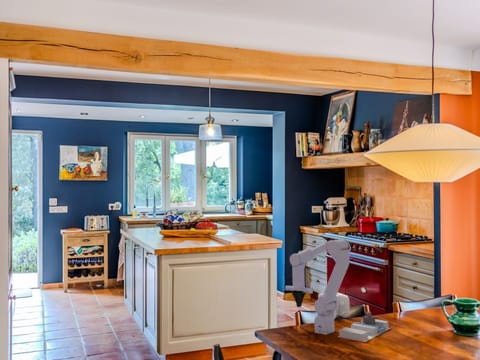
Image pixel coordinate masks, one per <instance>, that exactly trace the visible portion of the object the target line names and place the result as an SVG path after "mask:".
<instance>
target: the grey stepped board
mask: <svg viewBox="0 0 480 360" xmlns="http://www.w3.org/2000/svg"><path fill="white" fill-rule="evenodd" d="M353 322H354V321H353ZM390 329H391V327H389V321H388V320H383V319H376V318H375V325H371V324H365V323H363V318H361V320H360V321H359V322H358V321H355V322H354V323H352V324H351V325H350V327H345V326H344V327H343V328H341V329H339V330H338V333H339V335H338V336H337V337H338V338H343V339H348V340H353V341H358V342H363V343H366V342H368V341H369V340H371V339H374V338H376V337H377V336H379V335H380V334H383V333H384V332H386V331H388V330H390Z"/></svg>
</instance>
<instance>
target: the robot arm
mask: <svg viewBox="0 0 480 360" xmlns="http://www.w3.org/2000/svg"><path fill="white" fill-rule="evenodd" d="M351 249H352V247H351V245H350V242H349V241H348V240H347V239H346V238H341V239H335V240H333V239H331V240H329V241H325V242H323V243H322V244H319V245H318V246H316V247H314V248H312V247H310V246H309V247H305V248H304V250H299V251H298V253H293V254H291V255H290V256H289V263H290V265H291V267H292V269H291V271H292V285H285V286H284V287H285V289H284V290H285V291H292V292H291V295H292V296H293V300H294V301H295V304H296V308H302V305H303V301H304V298H305V296H306V295H307V293H308V294H313V293H314V292H313V288H310V287H305V284H306V282H305V281H306V280H305V267H306V264H307V263H308V262H310V261H313V260H316V257H317V255H320V254H322V253H323V254H324V253H328V254H329V255H330V256H331V258H332V259H333V261H334V262H335V265H334V266H333V269H332V272H331V275H330V277H329V280H328V282H327V284H326V287H325V288H324V292H322V293H323V294H322V295H321V296H320V297H319V299H317V300H315V302H314V305H313V307H314V310H315V312H316V313H317V315H316V316H315V318H314V322H313V324H314V333H315V334H322V335H329V334H332V333H334V332H335V319H334V313H335V309H336V308H337V301H338V298H337V297H336V295H337V293H339V290H340V287H341V285H342V282H343V280H344V277H345V275H346V273H347V271H348V268H349V265H350V253H351Z"/></svg>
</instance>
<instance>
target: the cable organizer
mask: <svg viewBox="0 0 480 360" xmlns="http://www.w3.org/2000/svg"><path fill="white" fill-rule="evenodd" d="M323 293H324V292H321V293H318V299H319V297H320V296H321V295H322V294H323ZM336 297H337V298H338V301H337V308H336V309H335V313H334V320H335V319H336V318H337V316H340V317H342V318H344V319H347V318H349V317H350V315H351V314H350V313H351V311H350V297H349V296H348V295H346V294H344V293H340V292H337V295H336ZM318 299H317V300H318Z"/></svg>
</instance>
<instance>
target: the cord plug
mask: <svg viewBox="0 0 480 360" xmlns="http://www.w3.org/2000/svg"><path fill="white" fill-rule="evenodd" d="M362 319H363V323H365V324H371V325H375V319H376V316H375V315H372V312H371V311H366V315H364V316H363V317H362Z"/></svg>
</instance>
